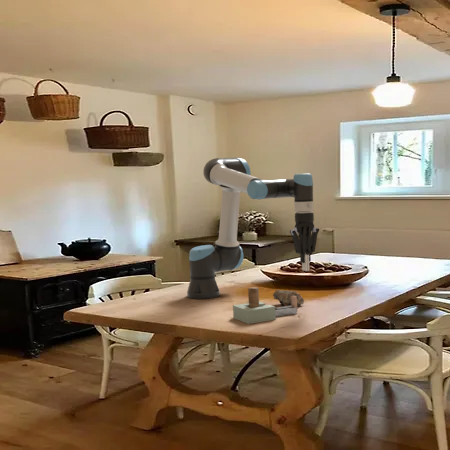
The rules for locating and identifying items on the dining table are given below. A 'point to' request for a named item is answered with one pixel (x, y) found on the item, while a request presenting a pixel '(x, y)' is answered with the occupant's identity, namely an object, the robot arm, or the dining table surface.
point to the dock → (254, 313)
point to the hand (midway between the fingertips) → (305, 270)
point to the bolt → (294, 304)
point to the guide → (285, 312)
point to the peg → (253, 297)
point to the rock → (287, 297)
